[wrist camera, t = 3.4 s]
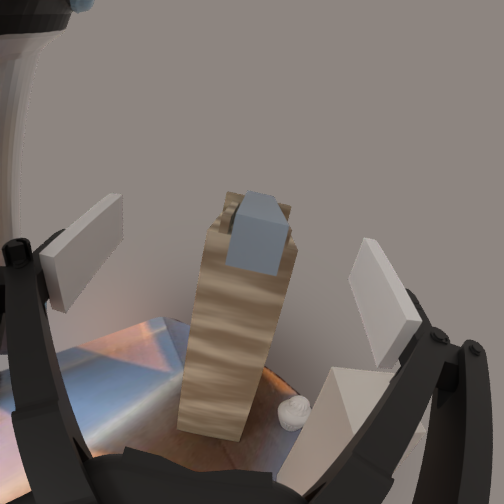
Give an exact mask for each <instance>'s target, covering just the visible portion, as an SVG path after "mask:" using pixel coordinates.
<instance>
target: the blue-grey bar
mask: <svg viewBox="0 0 504 504" xmlns="http://www.w3.org/2000/svg"><path fill="white" fill-rule="evenodd" d="M288 229H289V224H288V222H287V220H286V218H285V217H284V215H283V213H282V211H281V209H280V207H279V205H278V203H277V201H276V199H275V197H274V196H270V195H266V194H261V193H257V192H253V191H247V193H246V195H245V197H244V199H243V201H242V203H241V205H240V207H239V209H238V211H237V213H236V216H235V220H234V225H233V230H232V234H231V239H230V244H229V248H228V253H227V258H226V263H225V265H228V266H232V267H237V268H241V269H246V270H250V271H255V272H259V273H264V274H269V275H273V276H276V275H277V272H278V268H279V264H280V260H281V256H282V253H283V249H284V245H285V241H286V237H287V233H288Z"/></svg>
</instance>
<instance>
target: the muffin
mask: <svg viewBox="0 0 504 504" xmlns="http://www.w3.org/2000/svg"><path fill="white" fill-rule="evenodd" d="M310 412H311V408H310V403H309V400H307V398H305V397H304V396H301V395H299V396H298V395H296V396H293V397H292V398H290V399H288V400H285V401H283V402H282V403H281V404H280V405H279V407H278V418H279V421H280V424H281V426H282V428H283V429H285V430H287V431H296V430H298V429H300V428H302V427H303V426H304V424H305V422H306V420H307V418H308V416H309V414H310Z"/></svg>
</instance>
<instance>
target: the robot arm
mask: <svg viewBox="0 0 504 504" xmlns="http://www.w3.org/2000/svg"><path fill="white" fill-rule="evenodd" d="M94 1H95V0H0V355H2V354H3V355H6V354H7V355H8V360H9V369H10V377H11V383H12V390H13V396H14V401H15V407H16V410H15V411H13V412H12V415H11V417H12V424H13V428H14V433H15V437H16V441H17V445H18V449H19V452H20V456H21V459H22V463H23V466H24V469H25V473H26V476H27V479H28V482H29V484H30V487H31V490H32V491H31V492H29V493H27V494H25V495H23V496H21V497H19V498H16V499H14V500H12V501H10V502H8V503H6V504H381V503H382V501H383V500H384V498H385V497H386V495H387V494H388V492H389V490H390V489H391V487H392V485H393V482H394V479H393V478H391V477H392V474H393V472H394V470H395V469H396V467H397V465H398V463H399V462H400V460H401V458H402V456H403V454H404V452H405V451H406V449H407V447H408V445H409V443H410V441H411V439H412V437H413V435H414V433H415V431H416V429H417V427H418V425H419V423H420V421H421V419H422V416H423V414H424V412H425V410H426V407H427V405H428V403H429V400H430V398H431V396H432V404H431V412H430V420H429V427H428V433H427V439H426V446H425V451H424V456H423V461H422V465H421V470H420V474H419V479H418V483H417V487H416V491H415V495H414V498H413V502H412V504H489V496H490V487H491V474H492V454H493V452H492V451H493V425H492V404H491V392H490V380H489V372H488V364H487V357H486V353H485V350H484V349H483V347H482V346H481V345H480V344H479V343H478V342H476V341H473V340H466V341H465V342H464V344H463V345H462V346H461V347H459V346H456V345H453V344H450V340H449V337H448V336H447V335H446V333H444V332H443V331H442V330H440V329H438V328H436V327H432V326H431V323H430V321H429V319H428V318H427V316H426V314H425V312H424V310H423V308H422V307H421V305H420V304H419V301H418V300H417V298H416V296H415V295H414V294H413V293H412V292H411V291H410V290H409V289H405V288H404V286H403V284H402V283H401V281H400V279H399V277H398V276H397V274H396V272H395V270H394V269H393V267H392V265H391V264H390V262H389V260H388V259H387V257H386V255H385V254H384V252H383V250H382V249H381V247H380V245H379V244H378V242H377V241H376V240H373V239H369V238H363V241H362V244H361V247H360V249H359V252H358V255H357V258H356V260H355V263H354V265H353V268H352V271H351V273H350V276H349V278H348V281H349V283H350V286H351V289H352V292H353V295H354V298H355V301H356V304H357V307H358V309H359V312H360V316H361V319H362V322H363V325H364V328H365V331H366V334H367V337H368V340H369V344H370V347H371V350H372V353H373V357H374V360H375V364H376V367H377V368H388V369H392V367H393V366H394V365H395V363H396V362H397V360H398V359H399V361H400V364H401V367H400V368H399V369H398V371H397V372H396V374H395V375H394V376H393V378H392V379H391V380H390V382H389V383H390V384H389V385H388V387H387V389H386V390H385V392H384V393H383V395H382V397H381V398H380V400H379V401H378V403H377V404H376V406H375V407H374V409H373V410H372V412H371V413H370V414H369V416H368V417H367V419H366V420H365V422H364V423H363V424H362V426H361V427H360V429H359V430H358V431H357V433H356V434H355V435H354V437H353V438H352V439H351V441H350V442H349V443H348V445H347V446H346V447H345V448H344V450H343V451H342V452H341V453H340V455H339V456H338V457H337V458H336V460H335V461H334V462H333V463H332V465H331V466H330V467H329V468H328V469H327V470H326V472H325V473H324V474H323V475H322V476H321V477H320V479H319V480H318V481H317V482H316V483H315V484H314V485H313V486H312V487H311V488H310V489H309V490H308V491H307V492H306V493H305V494H303V495H302V496H301V495H300V494H299V493H297V492H296V491H294V490H293V489H291V488H289V487H288V486H286V485H283V484H281V483H278V482H276V481H272V473H271V472H257V471H246V470H237V469H235V470H224V471H211V472H195V471H192V470H190V469H187V468H185V467H183V466H181V465H178V464H176V463H174V462H172V461H170V460H168V459H166V458H163V457H161V456H159V455H155V454H151V453H147V452H143V451H139V450H136V449H132V448H129V447H126V446H125V449H124V452H123V454H108V455H102V456H98V457H94V458H93V457H92V455H91V453H90V451H89V449H88V447H87V445H86V443H85V441H84V439H83V436H82V434H81V431H80V429H79V426H78V424H77V421H76V418H75V415H74V413H73V410H72V407H71V404H70V401H69V398H68V395H67V392H66V389H65V385H64V382H63V379H62V375H61V372H60V368H59V365H58V361H57V357H56V353H55V349H54V345H53V340H52V336H51V332H50V327H49V322H48V317H47V306H46V305H47V300H48V299H50V303H51V307H52V309H54V310H57V311H60V312H63V313H67V311H68V310H69V308H70V307H71V305H72V304H73V303H74V301H75V300H76V299H77V297H78V296H79V295H80V293H81V292H82V291H83V289H84V288H85V287H86V285H87V284H88V283H89V282H90V280H91V279H92V278H93V276H94V275H95V274H96V272H97V271H98V270H99V269H100V267H101V266H102V265H103V264H104V262H105V261H106V260H107V259H108V257H109V256H110V255H111V254H112V252H113V251H114V250H115V249H116V248H117V246H118V245H119V244H120V243H121V242H122V240H123V212H122V211H123V195H122V194H115V193H110V194H108V195H107V196H106V197H105V198H103V199H102V200H101V201H100V202H98V203H97V204H96V205H95V206H93V207H92V208H91V209H89V210H88V211H87V212H86V213H85V214H83V215H82V216H81V217H80V218H79V219H78V220H76V221H75V222H74V223H73V224H72V225H71V226H69V227H68V228H67V229H62V230H60V231H58V232H56V233H54V234H53V235H52V236H51V237H50V238H49V239H48V240H46V241H45V242H44V244H42V245H41V246H39V248H37V249H36V250H35V251H34V252H33V253H32V250H31V245H30V241H29V240H28V239H26V238H21V225H20V187H21V166H22V153H23V143H24V142H23V141H24V134H25V133H24V132H25V126H26V118H27V112H28V106H29V100H30V95H31V90H32V85H33V80H34V76H35V72H36V67H37V63H38V59H39V55H40V53H41V51H42V49H43V48H44V47H45V46H46V45H47V44H49V43H50V42H51V41H53V40H54V39H56V38H57V37H58V36H60V35H61V34H63V33H64V32H65V29H66V27H67V24H68V21H69V18H70V16H71V13H72V12H73V11H74V12H76V13H79V12H83V11H88V10H90V9H91V7H92V6H93V3H94ZM432 393H433V394H432Z"/></svg>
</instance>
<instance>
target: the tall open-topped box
mask: <svg viewBox="0 0 504 504" xmlns="http://www.w3.org/2000/svg"><path fill="white" fill-rule="evenodd" d="M244 197H245V195H241V194H237V193H232V192H227V194H226V199H225V203H224V208H223V212H222V213H221V214H220V215H219V217H218V218H217V219H216V220H215V221H214V223H213V224H212V225H211V226H210V228H209V229H208V230H207V235H206V240H205V246H204V251H203V257H202V262H201V268H200V273H199V278H198V284H197V290H196V296H195V302H194V308H193V314H192V320H191V327H190V333H189V339H188V346H187V353H186V360H185V367H184V374H183V381H182V389H181V397H180V405H179V413H178V421H177V429H178V430H182V431H187V432H191V433H195V434H200V435H204V436H209V437H214V438H219V439H225V440H230V441H236V442H239V441H240V438H241V435H242V432H243V429H244V426H245V423H246V420H247V417H248V414H249V411H250V408H251V405H252V402H253V399H254V396H255V393H256V390H257V387H258V384H259V381H260V378H261V375H262V371H263V368H264V365H265V362H266V359H267V355H268V352H269V349H270V346H271V342H272V339H273V336H274V333H275V329H276V326H277V323H278V319H279V316H280V312H281V309H282V306H283V302H284V299H285V295H286V292H287V288H288V285H289V281H290V278H291V274H292V270H293V267H294V263H295V259H296V256H297V252H298V249H297V247H296V245H295V243H294V241H293V239H292V237H291V232H292V230H291V228H290V226H289V229H288V233H287V237H286V241H285V245H284V249H283V253H282V256H281V260H280V264H279V268H278V272H277V275H276V276H273V275H269V274H264V273H259V272H255V271H250V270H246V269H241V268H237V267H232V266H228V265H225V263H226V258H227V253H228V248H229V244H230V239H231V234H232V230H233V225H234V220H235V216H236V213H237V211H238V209H239V207H240V205H241V203H242V201H243V199H244ZM278 205H279V207H280V209H281V211H282V213H283V215H284V217H285V218H286V220H287V222H288V218H289V214H290V210H291V206H289V205H285V204H281V203H278Z"/></svg>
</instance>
